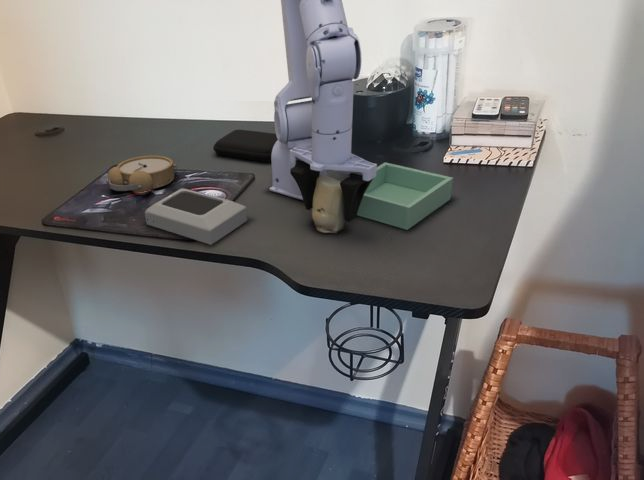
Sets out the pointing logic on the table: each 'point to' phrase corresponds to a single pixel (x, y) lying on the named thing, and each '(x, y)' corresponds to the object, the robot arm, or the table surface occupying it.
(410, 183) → the basin
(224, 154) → the carrying case
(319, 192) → the beige lumpy block
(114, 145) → the table surface
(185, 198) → the grey box with screen
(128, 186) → the alarm clock
